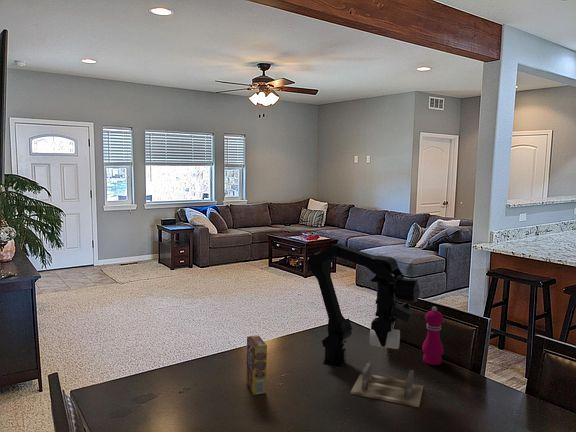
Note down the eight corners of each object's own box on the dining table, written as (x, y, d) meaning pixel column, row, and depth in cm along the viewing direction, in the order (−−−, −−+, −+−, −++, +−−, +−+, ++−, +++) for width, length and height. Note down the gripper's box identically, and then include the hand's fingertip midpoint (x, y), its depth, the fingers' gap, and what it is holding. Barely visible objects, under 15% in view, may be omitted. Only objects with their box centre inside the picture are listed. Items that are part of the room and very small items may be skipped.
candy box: (267, 393, 136) (267, 345, 134) (253, 395, 134) (253, 346, 133) (259, 380, 144) (259, 334, 143) (246, 382, 143) (245, 336, 141)
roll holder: (350, 393, 136) (351, 373, 136) (359, 376, 147) (360, 357, 147) (419, 407, 129) (419, 385, 128) (423, 388, 140) (424, 368, 139)
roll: (369, 348, 146) (369, 330, 145) (372, 341, 152) (372, 324, 151) (397, 352, 143) (398, 333, 142) (399, 345, 148) (400, 327, 148)
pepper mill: (440, 357, 163) (442, 303, 161) (445, 366, 156) (447, 310, 154) (419, 356, 164) (422, 303, 161) (423, 365, 156) (426, 309, 154)
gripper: (408, 307, 134) (407, 357, 136) (413, 291, 151) (412, 336, 153) (371, 303, 138) (370, 352, 139) (380, 288, 155) (379, 332, 157)
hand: (384, 342), depth 147 cm, fingers closed on roll, 6 cm apart
